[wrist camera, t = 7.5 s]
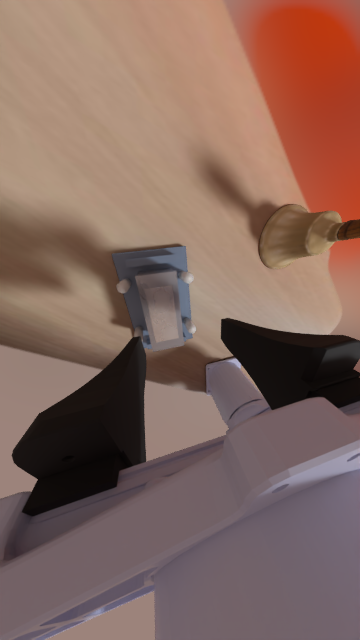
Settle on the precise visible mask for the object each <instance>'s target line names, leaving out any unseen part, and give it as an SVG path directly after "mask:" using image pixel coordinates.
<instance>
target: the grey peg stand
mask: <svg viewBox="0 0 360 640" xmlns="http://www.w3.org/2000/svg"><path fill="white" fill-rule="evenodd" d="M112 257H113V261H114V264H115V267H116V271H117V274H118V278H119V281H120V282H119V283H118V284H117V286H116V288H117V290H118V291H119V292H120V293H123V294H124V298H125V301H126V304H127V308H128V311H129V315H130V318H131V321H132V325H133V328H134V331H135V333H134V337H137V336H141V340H142V343H143V347H144V348H148V349H152V346H151V342H150V337H149V333H148V329H147V325H146V321H145V316H144V312H143V308H142V304H141V300H140V295H139V291H138V287H137V283H136V279H135V276H136V275H137V273H138V272H142V271H150V270H158V269H166V268H170V269H173V270H175V271H177V280H178V290H179V299H180V309H181V319H182V328H183V338H184V341H186V339H190V338H193V337H192V333H194V332H195V331H196V327H195V326H194V324H193V323H192V321H191V310H190V297H189V283H191V282H192V281H193V275H192V274H191V273H188V270H187V257H186V246H182V247H172V248H163V249H153V250H144V251H134V252H125V253H116V254H112Z"/></svg>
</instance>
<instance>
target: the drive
mask: <svg viewBox="0 0 360 640" xmlns="http://www.w3.org/2000/svg"><path fill="white" fill-rule="evenodd" d="M135 279H136V283H137V287H138V291H139V295H140V300H141V304H142V308H143V312H144V316H145V321H146V325H147V329H148V333H149V337H150V342H151V346H152V350H153V352H155V351H160V350H165V349H169V348H174V347H179V346H183V345H184V338H183V328H182V319H181V309H180V299H179V290H178V280H177V271H175V270H173V269H170V268H166V269H158V270H150V271H142V272H138V273H137V275H136V276H135Z"/></svg>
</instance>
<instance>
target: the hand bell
mask: <svg viewBox="0 0 360 640" xmlns="http://www.w3.org/2000/svg"><path fill="white" fill-rule="evenodd" d="M354 238H360V219H359V220H350V221H347V222H343V223H342V222H341V217H340V215H339V214H338V213H337V212H335V211H325V212H318V213H308V211H307V210H306V209H305V208H304V207H302V206H300V205H296V204H291V205H287V206H284V207H282V208H281V209H279V210H278V211H277V212H275V213H274V214H273V215H272V216H271V218H270V219H269V220H268V222H267V223H266V225H265V227H264V229H263V232H262V235H261V237H260V243H259V253H260V257H261V260H262V262H263V263H264V264H265V265H266V266H267V267H269V268H271V269H281V268H284V267H286V266H288V265H290V264H291V263H293V262H294V261H295V260H296V259H298V258H302V257H307V256H314V255H319V254H322V253H323V252H325V251H326V250H328V249H329V248H330V247H331V246H332V245H333V244H334V242H335V241H340V240H348V239H354Z"/></svg>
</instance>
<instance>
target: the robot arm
mask: <svg viewBox="0 0 360 640" xmlns="http://www.w3.org/2000/svg"><path fill="white" fill-rule="evenodd" d="M221 339H222V341H223V343H224V344H225V346H226V347H227V348H228V350H229V351H230V352H231V353H232V354H233V355H234V357H235V358H231V359H226V360H222V361H218V362H214V363H210V364H207V365H206V393H207V395H212V397H213V399H214V401H215V404H216V406H217V408H218V410H219V412H220V414H221V416H222V419H223V420H224V422H225V423H226V424H227V425H228V428H229V430H227V431H226V435H224V436H221V437H218V438H215V439H212V440H209V441H206V442H203V443H200V444H197V445H195V446H192V447H189V448H186V449H183V450H180V451H177V452H174V453H171V454H168V455H165V456H162V457H159V458H156V459H153V460H150V461H147V462H146V450H145V426H144V388H145V377H146V354H145V350H144V347H143V343H142V340H141V336H137V337H133V338H132V339H131V340H130V341H129V343H128V344H127V345H126V346H125V348H124V349H123V350H122V351H121V352H120V354H119V355H118V356H117V357H116V358H115V359H114V360H113V361H112V362H111V363H110V364H109V365H108V366H107V367H106V368H105V369H104V370H103V371H101V372H100V373H99V374H98V375H97V376H95V377H94V378H93V379H91V380H90V381H89V382H88V383H86V384H85V385H84V386H82V387H81V388H79V389H78V390H76V391H75V392H74V393H72V394H70V395H69V396H67V397H66V398H64V399H63V400H61V401H60V402H58V403H56V404H54V405H53V406H51V407H50V408H48V409H46V410H45V411H43V412H41V413H39V414H38V416H37V417H36V419H35V420H34V422H33V423H32V424H31V426H30V427H29V429H28V430H27V431H26V433H25V434H24V435H23V437H22V438H21V440H20V441H19V442H18V444H17V445H16V447H15V448H14V450H13V453H12V457H13V461H14V463H15V464H16V465H17V466H18V467H20V468H21V469H23V470H24V471H26V472H27V473H29V474H30V475H32V476H34V477H35V478H37V479H38V481H37V483H36V484H35V487H34V488H33V490H32V492H21V493H17V494H14V495H11V496H8V497H5V498H1V499H0V640H45V639H48V638H50V637H52V636H54V635H56V634H59V633H61V632H63V631H65V630H67V629H70V628H72V627H74V626H76V625H79V624H81V623H83V622H85V621H88V620H90V619H92V618H94V617H97V616H99V615H101V614H103V613H106V612H108V611H110V610H112V609H114V608H117V607H119V606H121V605H123V604H126V603H128V602H130V601H132V600H135V599H137V598H139V597H141V596H144V595H146V594H148V593H150V592H153V591H154V592H155V640H360V378H359V376H360V373H359V372H357V371H356V370H354V369H353V368H354V367H355V365H356V364H357V362H358V360H359V359H360V341H359V340H356V339H354V338H351V337H349V336H344V335H314V334H301V333H292V332H284V331H278V330H272V329H267V328H263V327H259V326H255V325H251V324H248V323H245V322H241V321H238V320H234V319H230V318H226V319H221ZM241 365H242V366H243V367H244V368H245V370H246V371H247V372H248V374H249V375H250V377H251V378H252V379H253V381H254V382H255V384H256V385H257V387H258V389H259V390H260V392H261V393H262V395H263V396H264V397H263V396H262V395H261V393H260V392H259V391H258V390H257V389H256V387H255V386H254V385H253V384H252V383H251V381H250V380H249V379H248V378H247V377H246V375H245V374H244V373H243V372H242V371H241V369H240V368H241Z"/></svg>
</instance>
